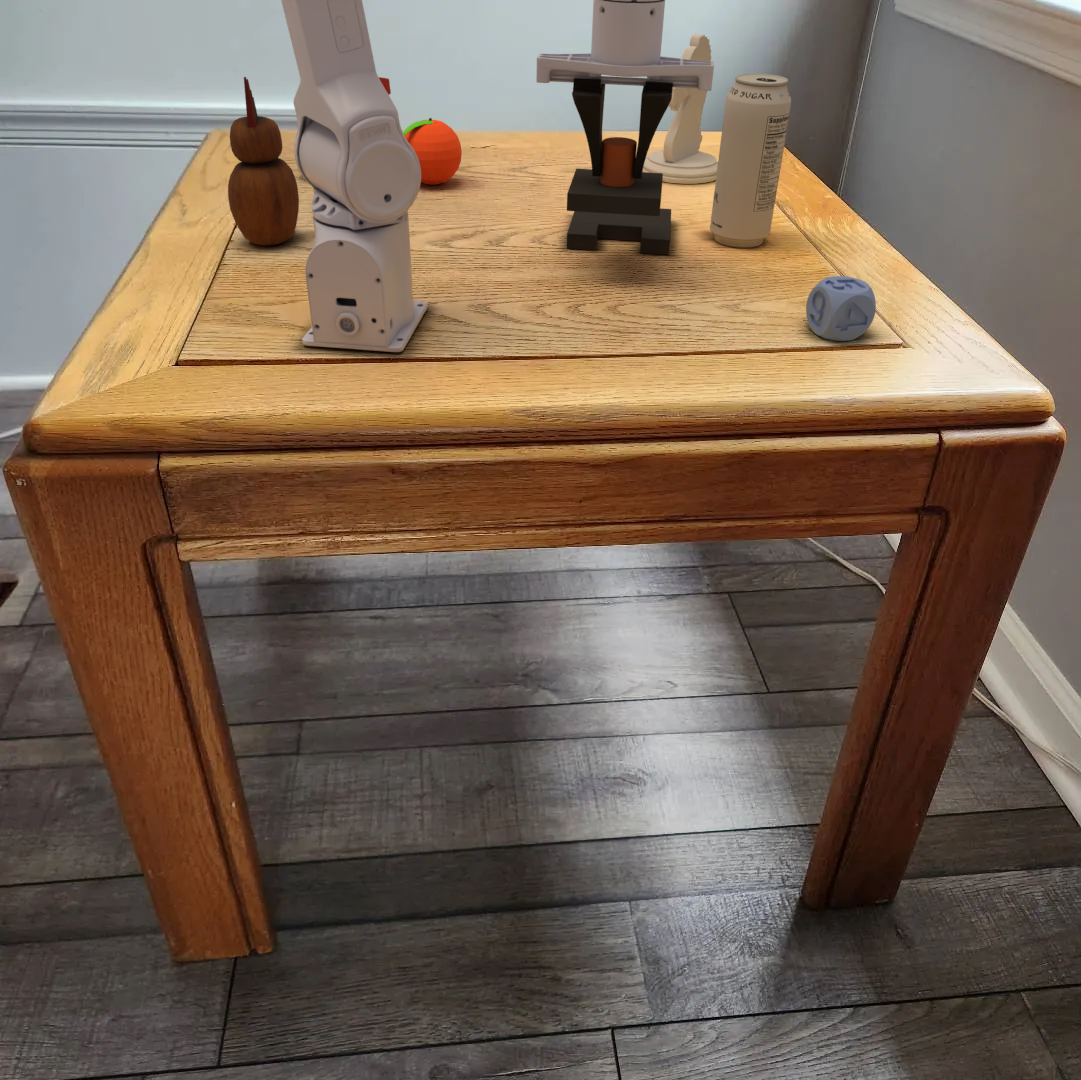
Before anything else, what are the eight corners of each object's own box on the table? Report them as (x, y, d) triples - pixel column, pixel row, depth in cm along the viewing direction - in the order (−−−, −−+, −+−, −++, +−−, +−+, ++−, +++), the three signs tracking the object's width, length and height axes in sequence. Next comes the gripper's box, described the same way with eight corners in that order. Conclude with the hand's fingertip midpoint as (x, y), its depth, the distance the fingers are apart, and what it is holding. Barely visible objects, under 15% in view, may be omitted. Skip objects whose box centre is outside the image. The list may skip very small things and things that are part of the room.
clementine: (418, 197, 106) (414, 129, 102) (383, 183, 110) (378, 117, 106) (474, 185, 111) (473, 119, 106) (439, 172, 115) (436, 108, 111)
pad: (659, 216, 82) (665, 155, 79) (566, 211, 82) (568, 150, 79) (662, 180, 91) (667, 124, 88) (578, 175, 91) (580, 120, 88)
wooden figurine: (284, 254, 91) (260, 82, 82) (227, 248, 92) (198, 77, 83) (311, 231, 96) (292, 68, 87) (258, 226, 97) (233, 64, 88)
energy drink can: (724, 226, 100) (746, 69, 92) (778, 238, 98) (805, 77, 89) (698, 240, 96) (717, 78, 88) (752, 253, 94) (778, 87, 85)
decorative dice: (869, 338, 78) (881, 291, 75) (826, 343, 77) (836, 296, 74) (843, 319, 81) (853, 273, 78) (801, 324, 80) (810, 277, 77)
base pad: (668, 255, 93) (670, 239, 92) (566, 248, 94) (567, 233, 93) (670, 223, 101) (671, 208, 100) (576, 217, 102) (576, 203, 101)
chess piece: (625, 173, 116) (635, 35, 107) (665, 157, 122) (678, 26, 114) (697, 188, 111) (713, 46, 102) (734, 171, 118) (753, 35, 109)
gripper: (719, -5, 79) (700, 167, 86) (545, -11, 80) (541, 158, 88) (722, 7, 73) (700, 189, 81) (534, -1, 74) (531, 179, 82)
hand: (617, 174), depth 84 cm, fingers closed on pad, 3 cm apart
